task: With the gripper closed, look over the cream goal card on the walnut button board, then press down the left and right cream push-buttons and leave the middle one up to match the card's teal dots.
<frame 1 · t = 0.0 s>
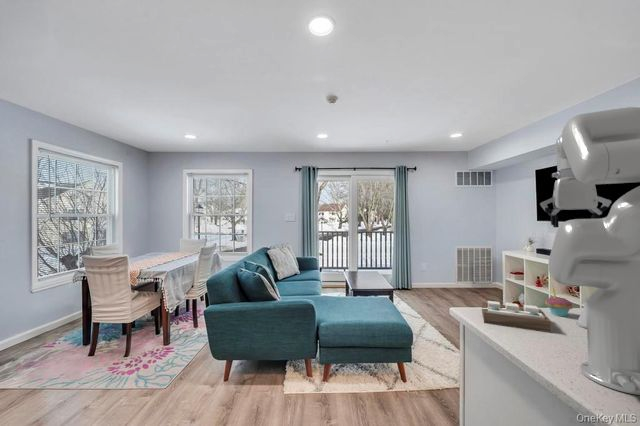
hand: (574, 227, 88), 37 cm above the kitchen island, tool pointing down, fingers open, 9 cm apart
flask: (590, 327, 99), on the kitchen island
button left: (494, 305, 109), point 5 cm above the kitchen island, slide at 0.0 cm
button mid: (512, 307, 106), point 5 cm above the kitchen island, slide at 0.0 cm
button right: (531, 310, 103), point 5 cm above the kitchen island, slide at 0.0 cm
board: (513, 321, 105), on the kitchen island
cupcake: (559, 315, 112), on the kitchen island
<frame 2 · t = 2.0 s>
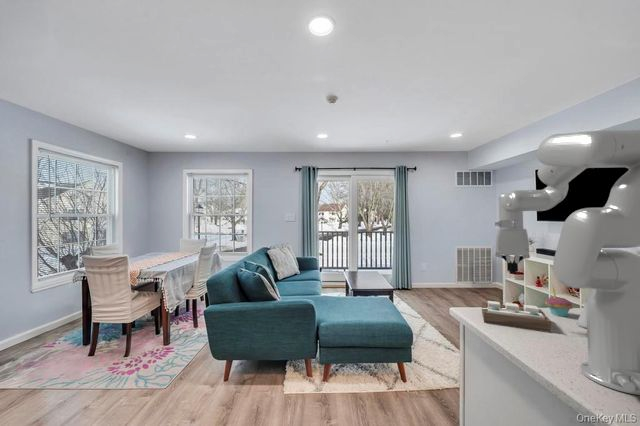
hand: (512, 273, 103), 19 cm above the kitchen island, tool pointing down, fingers closed
nothing on the kitchen island moved.
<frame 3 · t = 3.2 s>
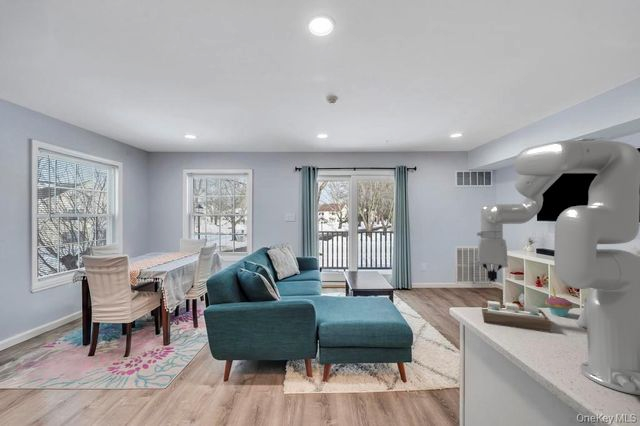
hand: (492, 280, 110), 15 cm above the kitchen island, tool pointing down, fingers closed
nothing on the kitchen island moved.
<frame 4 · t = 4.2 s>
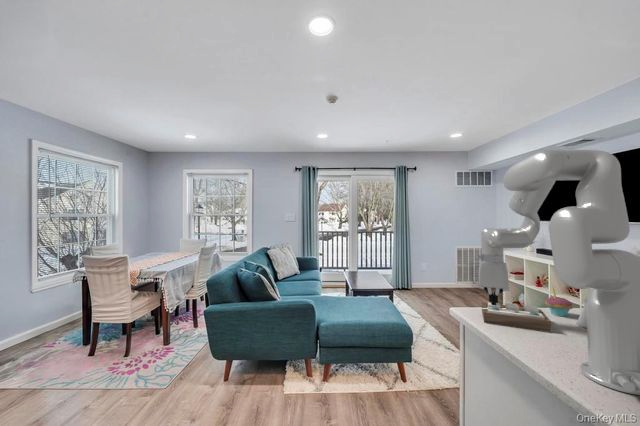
hand: (493, 304, 109), 5 cm above the kitchen island, tool pointing down, fingers closed
button left: (494, 307, 109), point 4 cm above the kitchen island, slide at 0.7 cm, touching gripper
everything else where it was.
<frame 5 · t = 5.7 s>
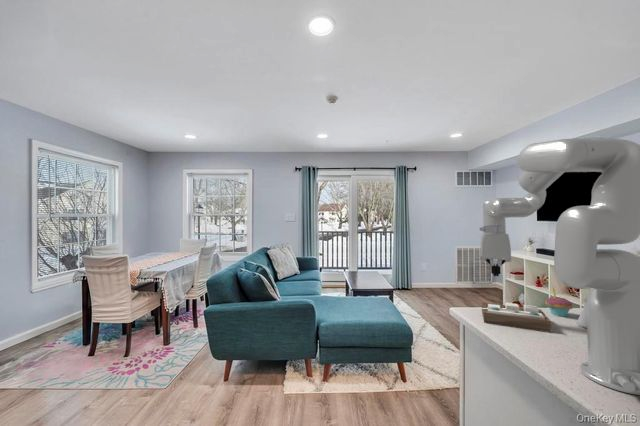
hand: (495, 275, 109), 17 cm above the kitchen island, tool pointing down, fingers closed
button left: (494, 309, 109), point 3 cm above the kitchen island, slide at 1.3 cm
everything else where it was.
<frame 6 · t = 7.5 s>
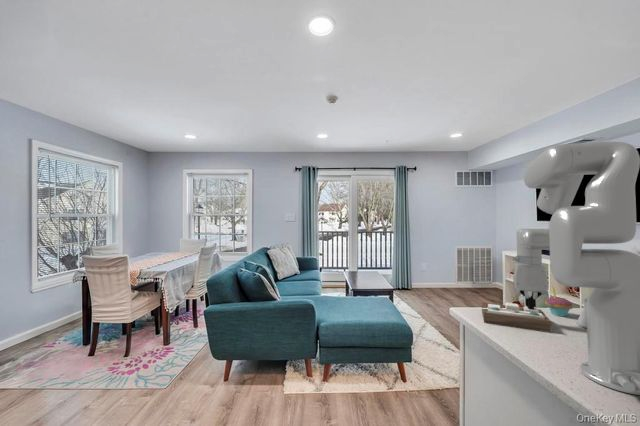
hand: (530, 308, 104), 5 cm above the kitchen island, tool pointing down, fingers closed
button right: (531, 312, 103), point 4 cm above the kitchen island, slide at 0.7 cm, touching gripper
everything else where it was.
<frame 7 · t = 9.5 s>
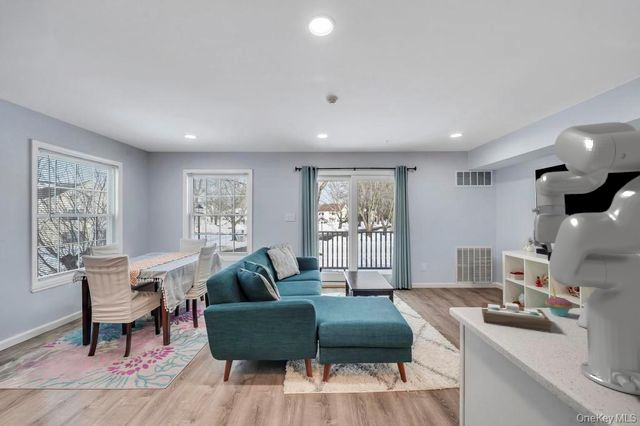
hand: (554, 263, 94), 24 cm above the kitchen island, tool pointing down, fingers closed
button right: (531, 313, 103), point 3 cm above the kitchen island, slide at 1.3 cm
everything else where it was.
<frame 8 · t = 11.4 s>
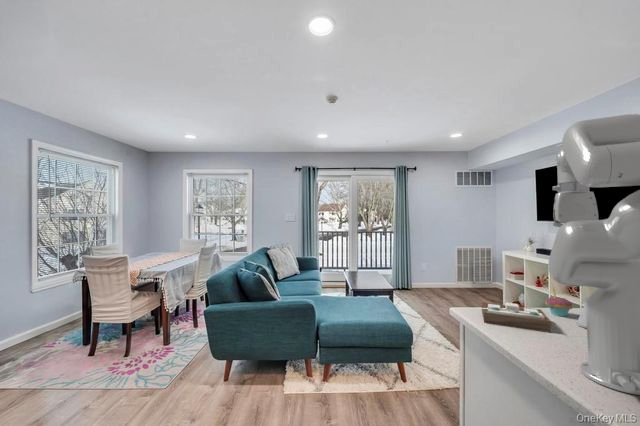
hand: (575, 244, 88), 31 cm above the kitchen island, tool pointing down, fingers closed
nothing on the kitchen island moved.
at the end: button left slide at 1.3 cm; button right slide at 1.3 cm; button mid slide at 0.0 cm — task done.
